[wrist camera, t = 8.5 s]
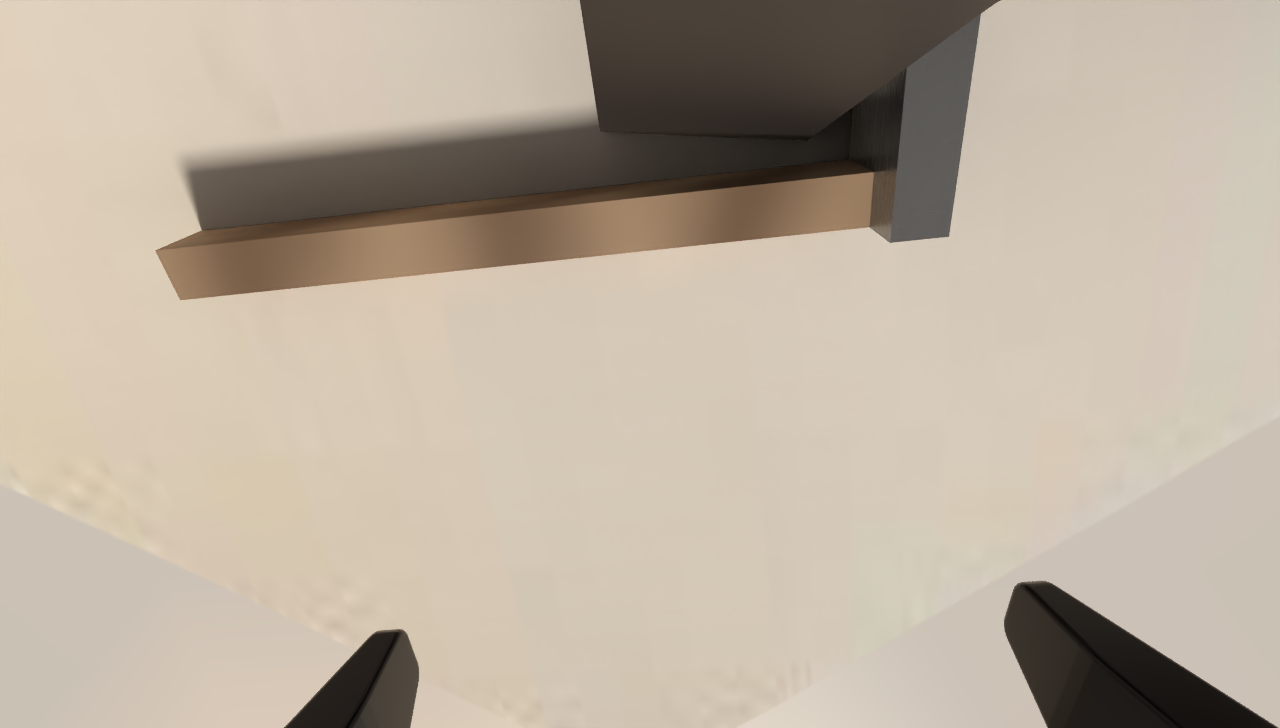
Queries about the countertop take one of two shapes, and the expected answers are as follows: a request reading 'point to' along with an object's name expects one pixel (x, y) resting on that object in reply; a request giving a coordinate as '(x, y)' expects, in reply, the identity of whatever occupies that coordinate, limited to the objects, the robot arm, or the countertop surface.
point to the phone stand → (753, 60)
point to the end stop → (917, 140)
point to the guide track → (522, 229)
